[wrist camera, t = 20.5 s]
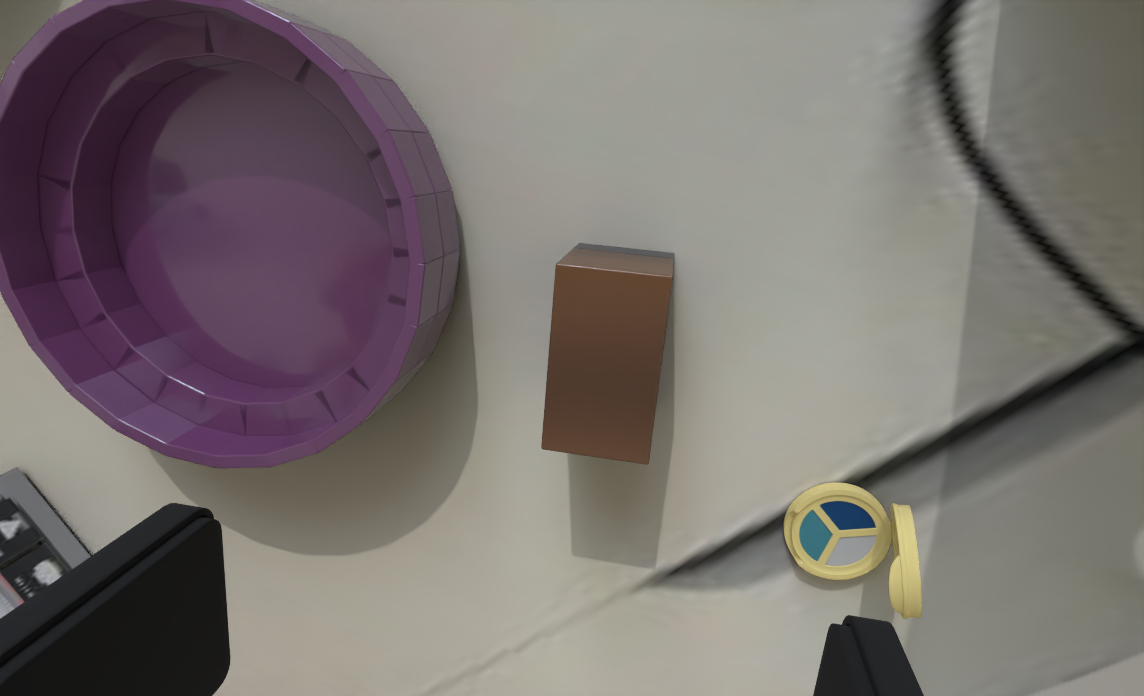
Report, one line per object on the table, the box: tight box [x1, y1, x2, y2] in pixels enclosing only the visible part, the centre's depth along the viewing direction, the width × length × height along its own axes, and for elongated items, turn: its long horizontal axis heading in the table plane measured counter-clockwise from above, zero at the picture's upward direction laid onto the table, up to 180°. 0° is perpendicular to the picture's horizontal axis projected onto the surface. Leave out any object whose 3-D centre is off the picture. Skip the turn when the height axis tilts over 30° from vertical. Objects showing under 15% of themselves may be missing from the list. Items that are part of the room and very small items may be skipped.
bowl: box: [0, 0, 460, 468], centre depth 29 cm, size 18×18×5 cm
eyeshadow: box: [784, 483, 922, 619], centre depth 28 cm, size 4×5×5 cm
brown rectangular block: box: [541, 243, 674, 464], centre depth 27 cm, size 7×4×6 cm, turn 175°
